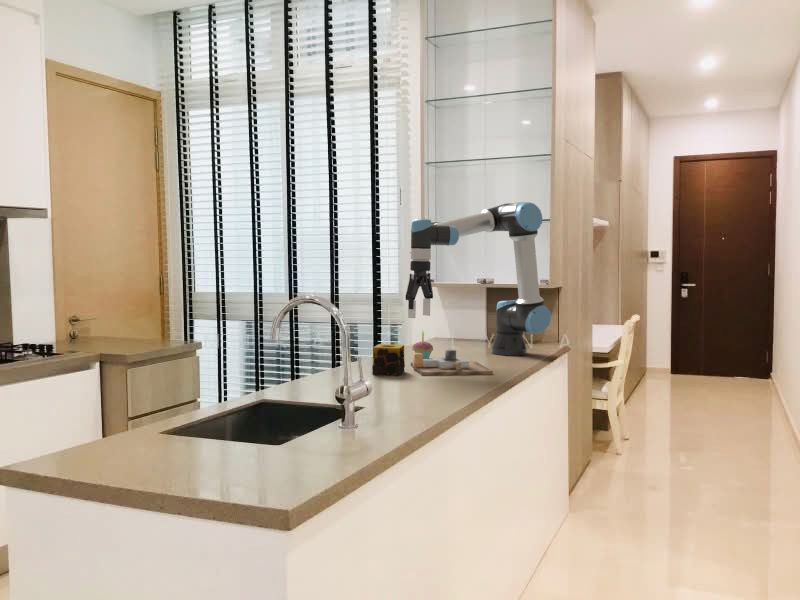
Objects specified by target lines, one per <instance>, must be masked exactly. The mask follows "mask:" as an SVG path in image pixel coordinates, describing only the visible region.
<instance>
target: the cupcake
mask: <svg viewBox="0 0 800 600" xmlns="http://www.w3.org/2000/svg"><path fill="white" fill-rule="evenodd" d="M424 337H425V332H424V331H422V332H421V341H419V342H415V344H413V345H412V349H411V350H412V351H414V353H422V354H423V359H430V357H431V353H432V352H433V351H434V346H433V345H432V344H431V343H430V342H427V341H424V340H425V338H424Z"/></svg>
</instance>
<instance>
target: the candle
mask: <svg viewBox="0 0 800 600" xmlns="http://www.w3.org/2000/svg"><path fill="white" fill-rule="evenodd" d="M372 353H373V356H372V359H373V360H372V368H371V369H372V370H371V371H372V372H371V373H372V375H374V376H392V377H393V376H395V377H400V376H401V375H403V373H405V368H406V364H405V363H406V362H405V345H404V344H394V343H393V344H389V343H387V344H386V343H379V344H376V345H375V346H373V347H372Z"/></svg>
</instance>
